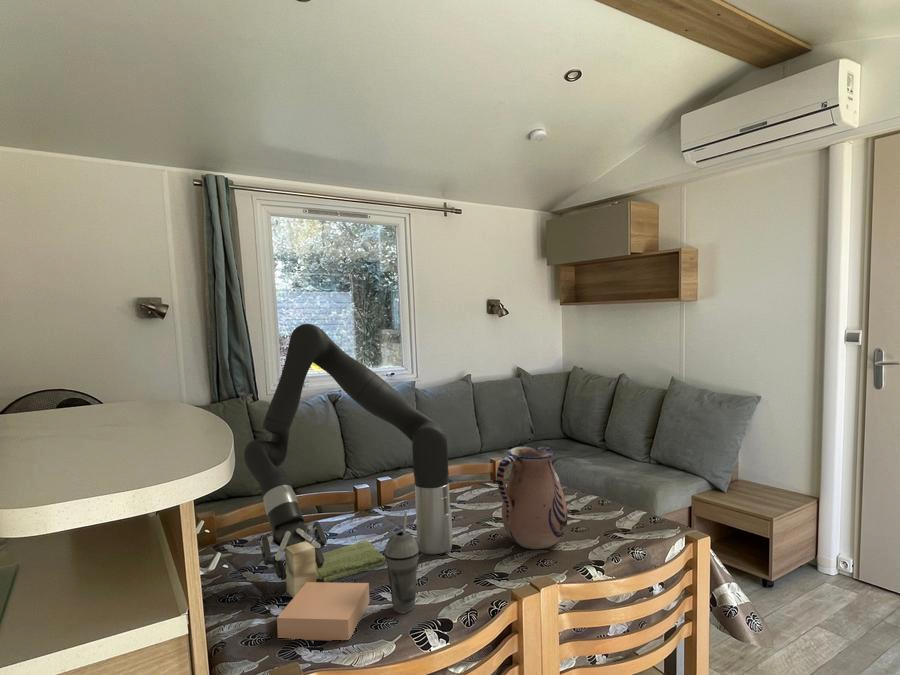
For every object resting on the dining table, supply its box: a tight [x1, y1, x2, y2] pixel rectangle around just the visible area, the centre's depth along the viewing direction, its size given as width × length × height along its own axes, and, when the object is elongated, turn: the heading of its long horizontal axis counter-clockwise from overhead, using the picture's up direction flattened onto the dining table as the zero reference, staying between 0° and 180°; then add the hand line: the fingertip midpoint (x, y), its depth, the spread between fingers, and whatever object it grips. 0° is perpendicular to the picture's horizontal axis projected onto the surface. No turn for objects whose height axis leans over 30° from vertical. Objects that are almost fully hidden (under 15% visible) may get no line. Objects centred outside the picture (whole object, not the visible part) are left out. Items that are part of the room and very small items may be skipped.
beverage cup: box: [383, 510, 420, 613], centre depth 104 cm, size 7×7×20 cm
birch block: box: [284, 540, 317, 599], centre depth 113 cm, size 5×5×10 cm
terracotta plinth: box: [276, 581, 370, 642], centre depth 101 cm, size 14×14×4 cm
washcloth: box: [315, 540, 386, 583], centre depth 126 cm, size 13×18×3 cm
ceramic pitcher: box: [496, 445, 569, 550], centre depth 133 cm, size 18×21×25 cm
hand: (303, 572), depth 112 cm, fingers open, 8 cm apart
